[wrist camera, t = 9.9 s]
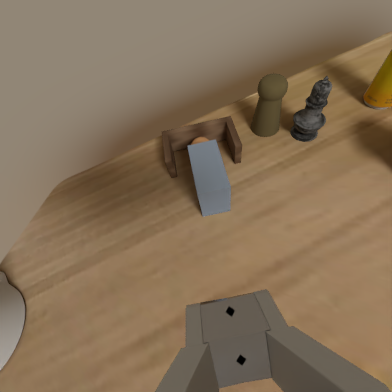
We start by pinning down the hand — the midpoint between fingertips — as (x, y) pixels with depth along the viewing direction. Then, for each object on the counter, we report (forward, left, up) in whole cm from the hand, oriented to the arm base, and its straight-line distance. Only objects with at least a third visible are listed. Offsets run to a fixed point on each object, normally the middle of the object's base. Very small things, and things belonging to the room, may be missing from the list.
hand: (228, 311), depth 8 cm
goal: (+2, +29, -25) cm, 39 cm away
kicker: (+2, +21, -25) cm, 33 cm away
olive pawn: (+17, +34, -25) cm, 46 cm away
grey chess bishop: (+24, +30, -25) cm, 46 cm away
